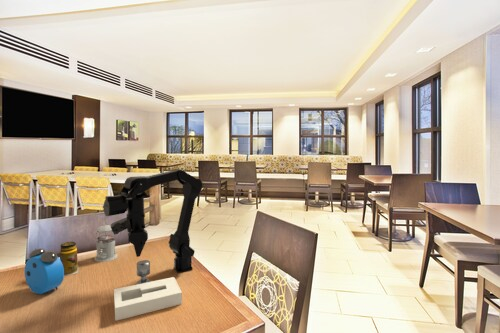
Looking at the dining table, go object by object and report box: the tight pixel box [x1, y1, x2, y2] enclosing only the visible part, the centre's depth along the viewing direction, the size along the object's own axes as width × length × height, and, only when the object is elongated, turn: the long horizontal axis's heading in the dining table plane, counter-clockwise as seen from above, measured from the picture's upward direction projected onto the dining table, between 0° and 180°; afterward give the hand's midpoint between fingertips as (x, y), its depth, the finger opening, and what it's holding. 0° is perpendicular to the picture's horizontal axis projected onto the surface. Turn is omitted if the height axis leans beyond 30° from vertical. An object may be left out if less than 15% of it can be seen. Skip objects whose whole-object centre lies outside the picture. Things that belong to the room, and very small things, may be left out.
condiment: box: [59, 241, 80, 276], centre depth 112 cm, size 7×8×12 cm
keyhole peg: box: [136, 259, 151, 285], centre depth 101 cm, size 5×5×9 cm
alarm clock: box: [24, 247, 64, 295], centre depth 97 cm, size 13×6×15 cm, turn 67°
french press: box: [93, 216, 119, 263], centre depth 127 cm, size 10×12×25 cm
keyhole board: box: [113, 276, 183, 322], centre depth 91 cm, size 20×12×4 cm, turn 118°
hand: (137, 251), depth 101 cm, fingers open, 9 cm apart
